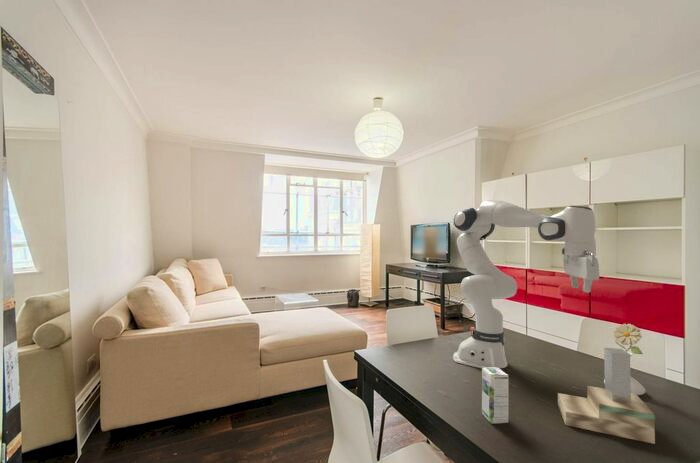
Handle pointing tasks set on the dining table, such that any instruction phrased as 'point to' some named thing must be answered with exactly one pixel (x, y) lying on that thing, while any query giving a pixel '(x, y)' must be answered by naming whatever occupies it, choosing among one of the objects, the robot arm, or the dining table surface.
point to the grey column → (617, 375)
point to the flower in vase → (630, 336)
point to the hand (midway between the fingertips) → (580, 289)
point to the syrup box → (495, 395)
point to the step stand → (608, 415)
